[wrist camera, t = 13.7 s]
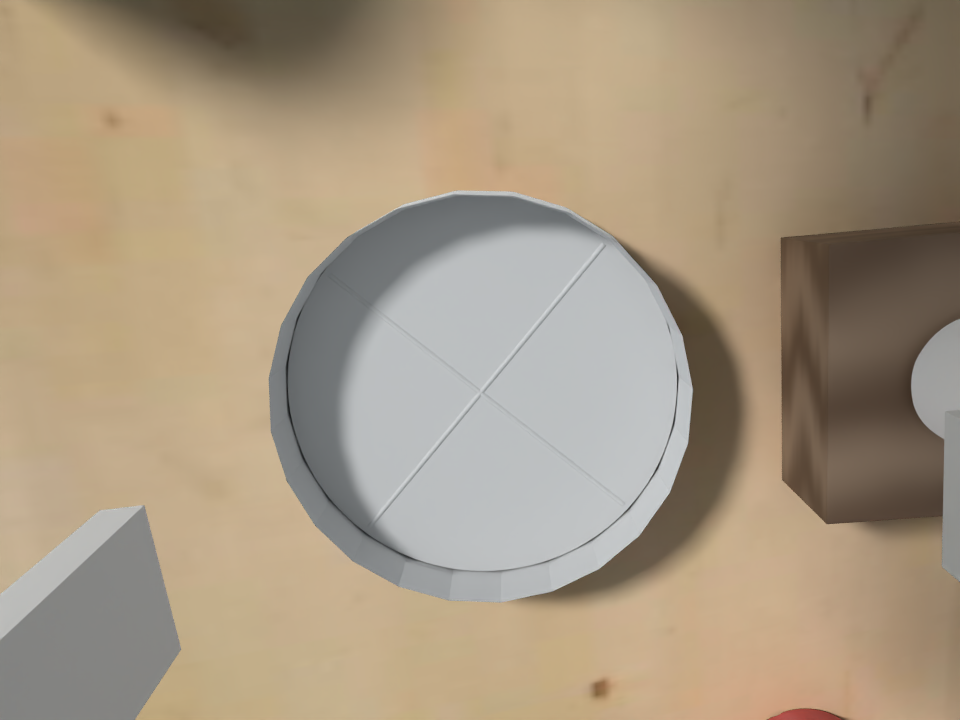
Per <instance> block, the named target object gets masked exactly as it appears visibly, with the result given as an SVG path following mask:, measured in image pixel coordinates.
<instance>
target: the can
mask: <svg viewBox="0 0 960 720" xmlns="http://www.w3.org/2000/svg"><path fill="white" fill-rule="evenodd" d="M911 393H912V400H913V404H914V407H915V410H916V412H917V414H918V416H919V418H920V419H921V420H922V422H923V423H924V424H925V425H926V426H927V427H928V428H929V429H930V430H931V431H932V432H934V433H935V434H937V435H938V436H940V437H941V438H943V439H944V433H945V411H953V410H960V319H958V320H956V321H954V322H952V323H950V324H948V325H947V326H945V327H944V328H942V329H941V330H940V331H939V332H937V333H936V334H935V335H934V336H933V337H932V338H931V339H930V340H929V341H928V343H927V344H926V345H925V346H924V348H923V349H922V351H921V352H920V354H919V356H918V357H917V359H916V362H915V364H914V368H913V372H912V378H911Z"/></svg>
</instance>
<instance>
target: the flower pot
mask: <svg viewBox="0 0 960 720" xmlns="http://www.w3.org/2000/svg"><path fill="white" fill-rule="evenodd" d="M767 720H842V719H840V718H838V717H837V716H835V715H832V714H830V713H827V712H825V711H821V710H815V709H795V710H789V711H785V712H783V713H781V714H780V715H778V716H775V717H771V718H769V719H767Z"/></svg>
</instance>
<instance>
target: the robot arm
mask: <svg viewBox="0 0 960 720" xmlns="http://www.w3.org/2000/svg"><path fill="white" fill-rule="evenodd" d="M942 567H943V568H944V569H945V570H946V571H947V572H949V573H950V574H951V575H952V576H953V577H954V578H956V579H957V580H958V581H959V582H960V410H953V411H945V433H944V485H943V536H942ZM180 650H181V647H180V643H179V639H178V635H177V631H176V627H175V623H174V619H173V616H172V612H171V608H170V604H169V600H168V596H167V592H166V588H165V584H164V580H163V577H162V573H161V569H160V565H159V561H158V557H157V553H156V549H155V545H154V541H153V538H152V534H151V530H150V526H149V522H148V518H147V514H146V510H145V506H144V505H142V506H134V507H125V508H116V509H108V510H100V511H99V512H97V513H96V514H95V515H94V516H93V517H91V518H90V519H89V520H88V521H87V522H85V523H84V524H83V525H82V526H81V527H80V528H78V529H77V530H76V531H75V532H74V533H72V534H71V535H70V536H69V537H68V538H66V539H65V540H64V541H63V542H62V543H61V544H59V545H58V546H57V547H56V548H55V549H53V550H52V551H51V552H50V553H49V554H48V555H46V556H45V557H44V558H43V559H42V560H40V561H39V562H38V563H37V564H36V565H34V566H33V567H32V568H31V569H30V570H29V571H27V572H26V573H25V574H24V575H23V576H21V577H20V578H19V579H18V580H17V581H15V582H14V583H13V584H12V585H11V586H10V587H8V588H7V589H6V590H5V591H4V592H2V593H1V594H0V720H135V718H136V717H137V715H138V714H139V712H140V711H141V709H142V708H143V706H144V705H145V703H146V702H147V700H148V699H149V697H150V696H151V694H152V693H153V691H154V690H155V688H156V687H157V685H158V684H159V682H160V681H161V679H162V678H163V676H164V675H165V673H166V671H167V670H168V668H169V667H170V665H171V664H172V662H173V661H174V659H175V658H176V656H177V655H178V653H179V652H180Z"/></svg>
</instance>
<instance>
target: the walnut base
mask: <svg viewBox="0 0 960 720" xmlns="http://www.w3.org/2000/svg"><path fill="white" fill-rule="evenodd" d="M958 319H960V222H951V223H940V224H929V225H918V226H906V227H895V228H884V229H873V230H862V231H851V232H840V233H829V234H818V235H806V236H795V237H784V238H781V340H782V480H783V481H784V482H785V483H786V484H787V485H788V486H789V487H790V488H791V489H792V490H793V491H794V492H795V493H796V494H797V495H798V496H799V497H800V498H801V499H802V500H803V501H804V502H805V503H806V504H807V505H808V506H809V507H810V508H811V509H812V510H813V511H814V512H815V513H816V514H817V515H818V516H819V517H820V518H821V519H822V520H823V521H824V522H825V523H826V524H837V523H851V522H864V521H878V520H892V519H906V518H920V517H934V516H943V485H944V439H943V438H941V437H940V436H938V435H937V434H935V433H934V432H932V431H931V430H930V429H929V428H928V427H927V426H926V425H925V424H924V423H923V422H922V420H921V419H920V418H919V416H918V414H917V412H916V410H915V407H914V404H913V400H912V393H911V378H912V372H913V368H914V364H915V362H916V359H917V357H918V356H919V354H920V352H921V351H922V349H923V348H924V346H925V345H926V344H927V343H928V341H929V340H930V339H931V338H932V337H933V336H934V335H935V334H936V333H937V332H939V331H940V330H941V329H942V328H944V327H945V326H947V325H948V324H950V323H952V322H954V321H956V320H958Z"/></svg>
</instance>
